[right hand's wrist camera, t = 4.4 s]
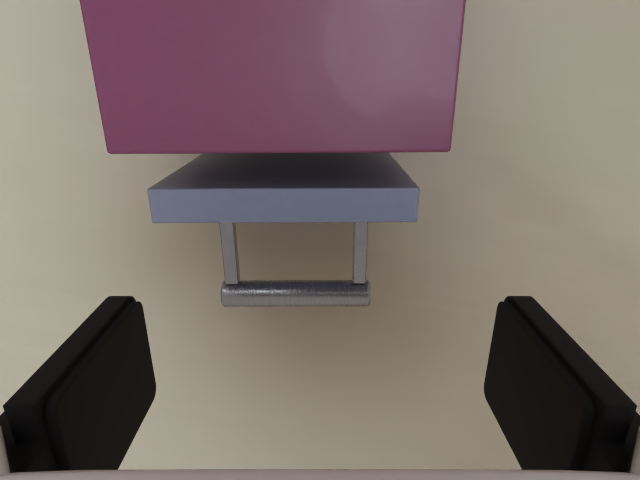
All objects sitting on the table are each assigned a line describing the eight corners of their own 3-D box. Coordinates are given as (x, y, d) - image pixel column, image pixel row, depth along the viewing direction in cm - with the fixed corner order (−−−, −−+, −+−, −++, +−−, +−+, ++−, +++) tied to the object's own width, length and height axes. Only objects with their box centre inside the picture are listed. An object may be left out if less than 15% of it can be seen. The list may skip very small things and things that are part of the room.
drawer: (379, 271, 24) (406, 363, 16) (221, 272, 24) (173, 363, 16) (410, -385, 15) (504, -876, 7) (157, -381, 15) (-18, -862, 7)
